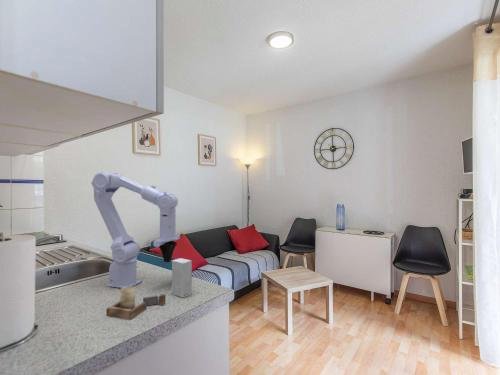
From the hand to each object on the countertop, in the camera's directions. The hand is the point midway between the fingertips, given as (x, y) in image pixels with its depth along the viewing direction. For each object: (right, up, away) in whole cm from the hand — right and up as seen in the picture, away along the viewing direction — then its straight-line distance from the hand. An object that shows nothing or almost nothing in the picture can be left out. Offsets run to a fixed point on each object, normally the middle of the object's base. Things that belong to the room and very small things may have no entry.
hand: (167, 261), depth 100 cm
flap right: (0, -9, -16) cm, 18 cm away
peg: (-6, -10, -21) cm, 23 cm away
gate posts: (-4, -10, -13) cm, 17 cm away
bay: (-5, -10, -20) cm, 23 cm away
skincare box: (+7, -10, -7) cm, 14 cm away
